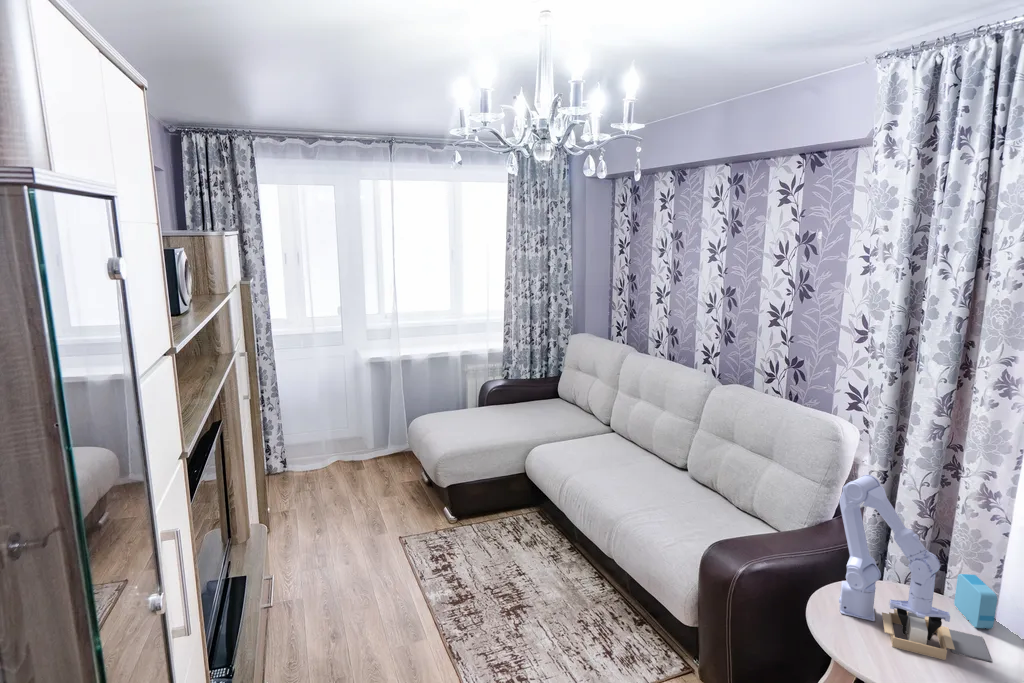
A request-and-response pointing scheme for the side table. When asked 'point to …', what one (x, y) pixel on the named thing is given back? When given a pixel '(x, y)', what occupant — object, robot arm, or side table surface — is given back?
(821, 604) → the side table surface
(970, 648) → the mat
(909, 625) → the capped box
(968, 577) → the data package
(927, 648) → the carton
